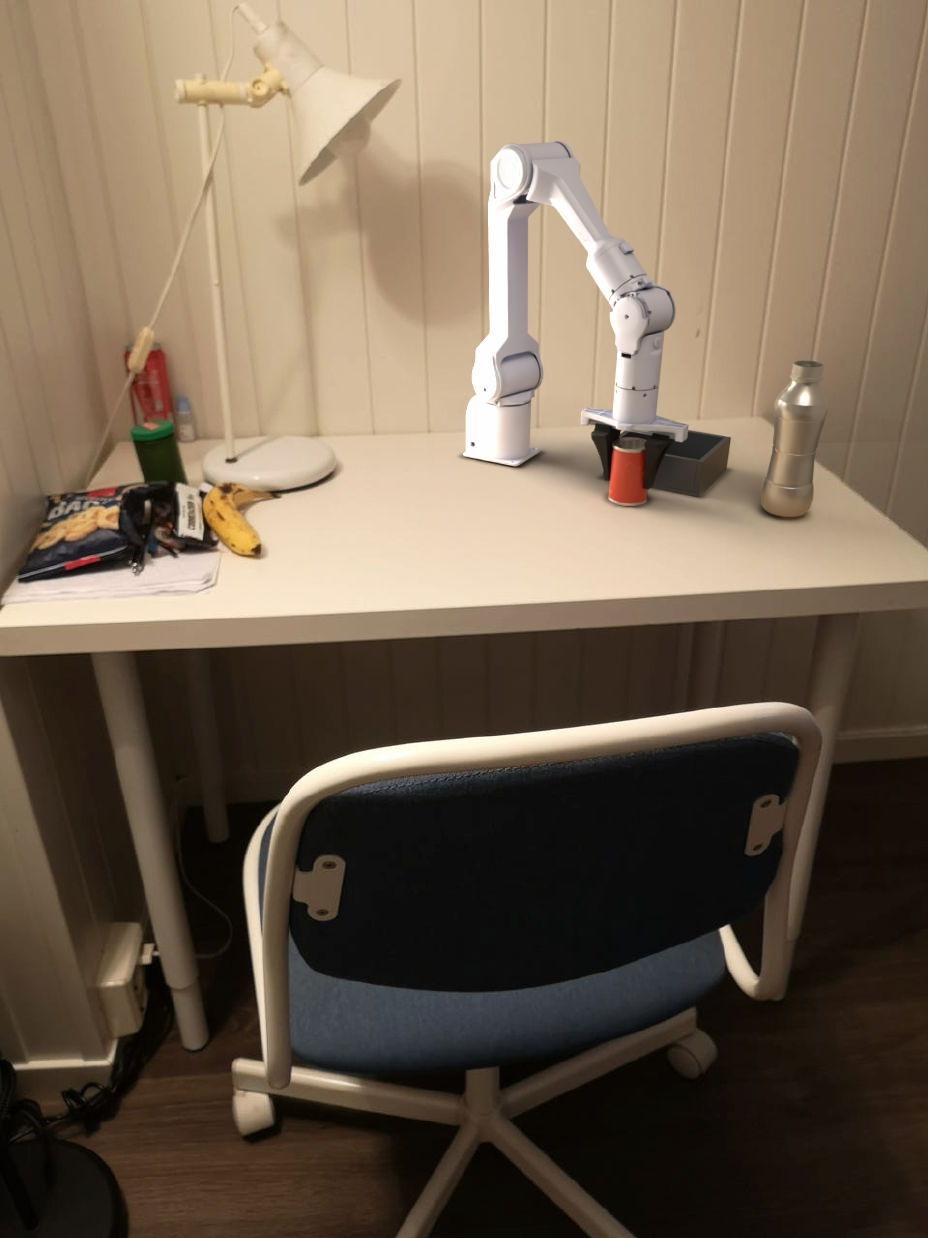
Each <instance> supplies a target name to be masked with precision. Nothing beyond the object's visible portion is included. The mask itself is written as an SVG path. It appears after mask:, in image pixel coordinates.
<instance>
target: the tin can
mask: <svg viewBox="0 0 928 1238" xmlns="http://www.w3.org/2000/svg"><path fill="white" fill-rule="evenodd" d="M645 441H647V440H645V439H641V438H633V437H626V438H619V439H616V440H614V441H613V442H612V458H611V471H610V481H609V486H608V487H609V488H608V495H607V499H608V501H609V502H610V503H612V504H614V505H618V506H622V507H637V506H642V505H644V504H646V503H647V501H648V489H644V488H643V481H644V474H645V446H644V443H645Z"/></svg>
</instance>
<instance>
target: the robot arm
mask: <svg viewBox="0 0 928 1238" xmlns="http://www.w3.org/2000/svg"><path fill="white" fill-rule="evenodd" d="M540 205H546V206H551V207H553V208H554V209H556V211H557V212H558V213H559V215H560V216H561V218H562V219H563V220H564V222H565V223H566V225H567V226H568V227H569V229H570V230H571V231H572V232H573V234H574V236H575V237H576V238H577V239H578V241H579V242H580V243H581V245H582V247H584V249H585V250H586V252H587V258H586V263H585V264H586V265H585V266H586V269H587V270H588V273H589V274H590V275H591V277H592V278H593V280H594V282H595V283H596V285H597V287H598V288H599V290H600V292H601V293H602V295H603V296H604V297H605V299H606V301H607V302H608V304H609V306H610V308H611V309H612V310H613V311H610V312H609V321H610V325H611V328H612V330H613V332H614V334H615V342H614V343H615V347H616V350H617V353H616V367H615V380H614V392H613V404H612V405H613V406H612V409H609V408H608V409H607V408H595V407H586V408H584V409H583V410H581V412H580V413H581V414H580V425H581V426H590V425H591V426H594V428H593V431H591V433H590V437H591V440H592V442H593V444H594V446H595V449H596V450H597V453H598V456H599V459H600V463H601V467H602V475H603V474H604V478H603V480H604V481H606V482H610V471H611V458H612V442H613V441H614V440H616V439H619V437H620V434H621V433H622V432H624V431H630V432H636V433H642V434H647V435H652V437H651V438H649V439H648V440H647V441H645V443H644V446H645V474H644V481H643V488H644V489H647V490H649V489H652V488H651V487H652V486H653V485H654V481H655V477H656V474H657V471H658V469H659V466H660V464H661V462H662V460H663V458H664V456H665V454H666V452H667V451H668V449H669V447H670V446H671V444H672V443H673V441H674V439H675V441H677V442H683V441H684V440H686V439H687V436H688V430H689V426H690V425H689V423H685V422H681V421H676V420H672V419H670V418H666V417H663V416H659V415H657V410H658V401H659V400H658V399H659V389H660V381H661V371H662V362H663V361H662V360H663V351H664V341H665V340H664V339H665V332H666V331H667V330H669V329H670V328H671V327H672V325H673V323H674V322H675V318H676V314H677V308H676V302H675V299H674V297H673V295H672V292H671V291H670V290H669V289H668V288H667V287H665V286H664V285H658V284H657V283H656V282H655V281H654V280H652V278H651V276H650V275H648V274H647V272H646V271H645V270H644V268H643V266H642V265H641V263H640V261H639V260H638V259H637V257H636V255H635V254H634V251H635V248H634V246H633V245H632V244H631V242H629V241H628V242H627V241H626V239H624V238H622V237H615V236H612V235H611V233H610V231H609V230H608V228H607V226H606V224H605V222H604V220H603V217H602V216H601V215H600V213H599V210H598V209H597V207H596V205H595V203H594V201H593V199H592V197H591V196H590V193H589V192H588V190H587V188H586V186H585V185H584V182H583V181H582V178H581V163H580V162H579V160H578V159H577V158H576V157H575V156H574V153H573V150H572V149H571V148H570V146H569V145H568V144H567V143H565V142H564V141H561V140H554V141H549V142H536V143H534V142H533V143H514V142H513V143H512V142H511V143H507V144H506V145H504V146H502V148H501V149H500V150H499V151H498V152H497V154H496V155H495V156H494V157H493V158H492V160H491V161H490V194H489V198H488V267H489V268H488V270H489V271H488V273H489V274H488V275H489V276H488V277H489V333H488V335H487V336H486V337H485V338H484V339H483V341H482V342H481V343H480V344H479V345H478V346H477V348H476V349H475V362H474V366H473V368H472V373H471V382H472V386H473V389H474V391H475V395H474V396H472V398H471V399H470V400H469V402H468V405H467V409H466V413H465V451H464V452H463V457H467V458H471V459H476V460H481V461H487V462H492V463H496V464H501V465H506V466H511V467H518V466H520V465H522V464H524V463H525V462H526V461H528V460H530V459H532V458H533V457H535V456H536V455H537V454H539V453H540V452H541V449H540V448H537V447H531V445H530V444H531V417H532V409H531V408H532V399H533V398H535V396H536V394H535V393H536V390H537V389H539V388H540V387H541V385H542V382H543V379H544V367H543V363H542V360H541V356H540V344H539V342H538V341H537V340H536V339H535V338H534V337H533V336H532V335H530V333H529V331H528V329H529V325H528V323H529V319H528V317H529V314H528V313H529V307H528V305H529V217H530V216H531V215H532V214H533V213H534V212H535V211H536V210H537V209H538V208H539V207H540Z"/></svg>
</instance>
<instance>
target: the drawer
mask: <svg viewBox="0 0 928 1238" xmlns="http://www.w3.org/2000/svg"><path fill="white" fill-rule="evenodd" d="M626 437H633V438H641V439H645V440H648V439H649V438H651V437H652V435H647V434H642V433H636V432H630V431H621V432H620V437H619V438H626ZM731 442H732V436H725V435H722V434H715V433H710V432H704V431H697V430H690V429H688V436H687V439H686V440H684V441H683V442H677V441H675V439H674V441H673V443H672V444H671V446H670V447H669V449H668V451H667V452H666V454H665V456H664V458H663V460H662V462H661V464H660V466H659V469H658V471H657V474H656V477H655V481H654V485H653V486H652V487H651V488H650V489H656V490H662V491H666V492H671V493H676V494H681V495H685V496H692V497H697V498H700V496H701V495H703V494H704V493H705V492H706V491H707V490H708V489H709V488H710V487H711V486H712V485H713V484H714V483H715V482H716V481H717V480H718V479H719V478H720V477H722V475H723V474H724V473H725V472H726V471H727V470H728V464H729V456H730V447H731ZM601 478H602V479H604V474H603V473H602V477H601Z"/></svg>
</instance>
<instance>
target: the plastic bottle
mask: <svg viewBox="0 0 928 1238" xmlns="http://www.w3.org/2000/svg"><path fill="white" fill-rule="evenodd" d="M824 369H825V364H824V363H823V362H820V361H814V360H806V359H805V360H796V361H793V363H792V368H791V372H790V373H789V379H791V381H790V382H789V383H788V384H787V385H786V386H785V387H784V388H783V389H782V390H781V391H780V392H779V394H778V395H777V396H776V398H775V401H774V404H773V438H772V449H771V455H770V459H769V464H768V468H767V473H766V476H765V477H764V480H763V483H762V487H761V490H760V503H761V505H762V508H763V509H764V510H765V511H766V513H769V514H772V515H775V516H779V517H785V518H795V517H800V516H803V515H805V514H806V513H807V512H808V511H809V510H810V508H811V506H812V503H813V501H814V491H815V490H814V488H815V487H814V474H815V473H814V471H815V461H816V460H815V459H816V454H817V449H818V445H819V440H820V436H821V433H822V431H823V427H824V425H825V422H826V419H827V415H828V411H829V403H828V399H827V396H826V394H825V391H824V390H823V388H822V386H821V385H820V382H821V381H822V382H823V380H824V379H823V378H824Z"/></svg>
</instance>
